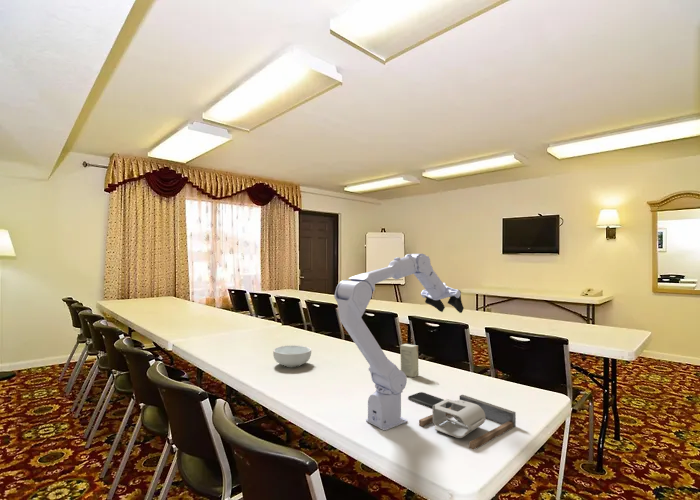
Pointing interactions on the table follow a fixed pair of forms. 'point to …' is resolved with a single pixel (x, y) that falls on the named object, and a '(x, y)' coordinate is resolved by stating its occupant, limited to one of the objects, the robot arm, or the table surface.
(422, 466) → the table surface
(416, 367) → the skincare box
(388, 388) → the robot arm
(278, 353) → the cereal bowl
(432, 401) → the phone
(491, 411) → the rail channel
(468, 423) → the cable organizer
